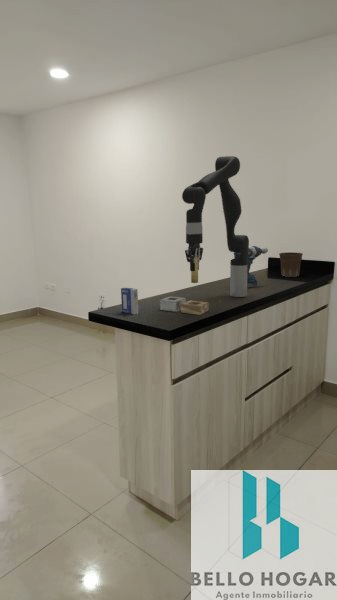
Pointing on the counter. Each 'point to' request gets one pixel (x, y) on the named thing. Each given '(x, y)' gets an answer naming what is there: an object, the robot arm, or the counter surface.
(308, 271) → the counter surface
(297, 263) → the plant pot
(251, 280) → the impact wrench
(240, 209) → the robot arm
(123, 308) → the walkman
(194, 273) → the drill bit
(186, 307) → the rack block
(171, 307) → the socket block
